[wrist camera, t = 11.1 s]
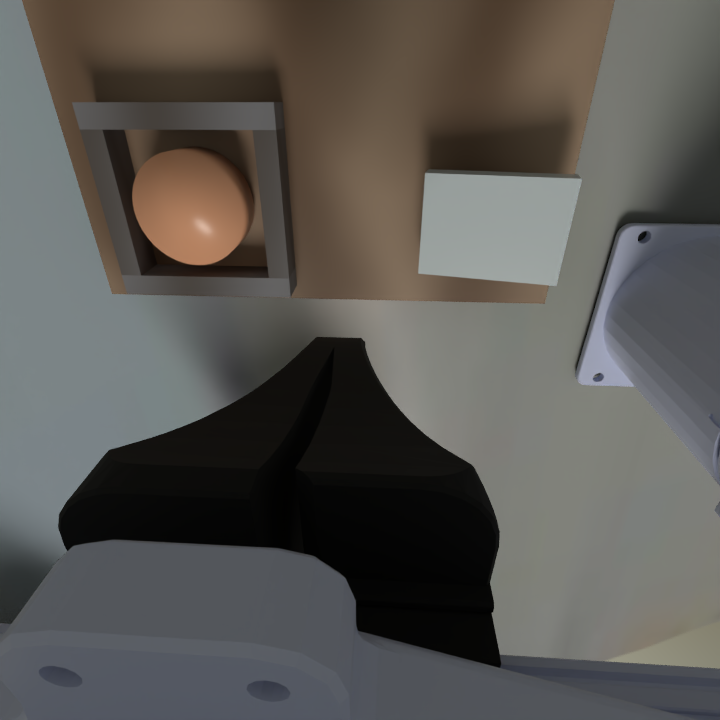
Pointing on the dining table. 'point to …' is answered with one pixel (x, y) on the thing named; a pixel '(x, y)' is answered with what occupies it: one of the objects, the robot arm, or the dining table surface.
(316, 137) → the panel
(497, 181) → the grey flat tile
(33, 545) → the dining table surface
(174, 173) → the push button
